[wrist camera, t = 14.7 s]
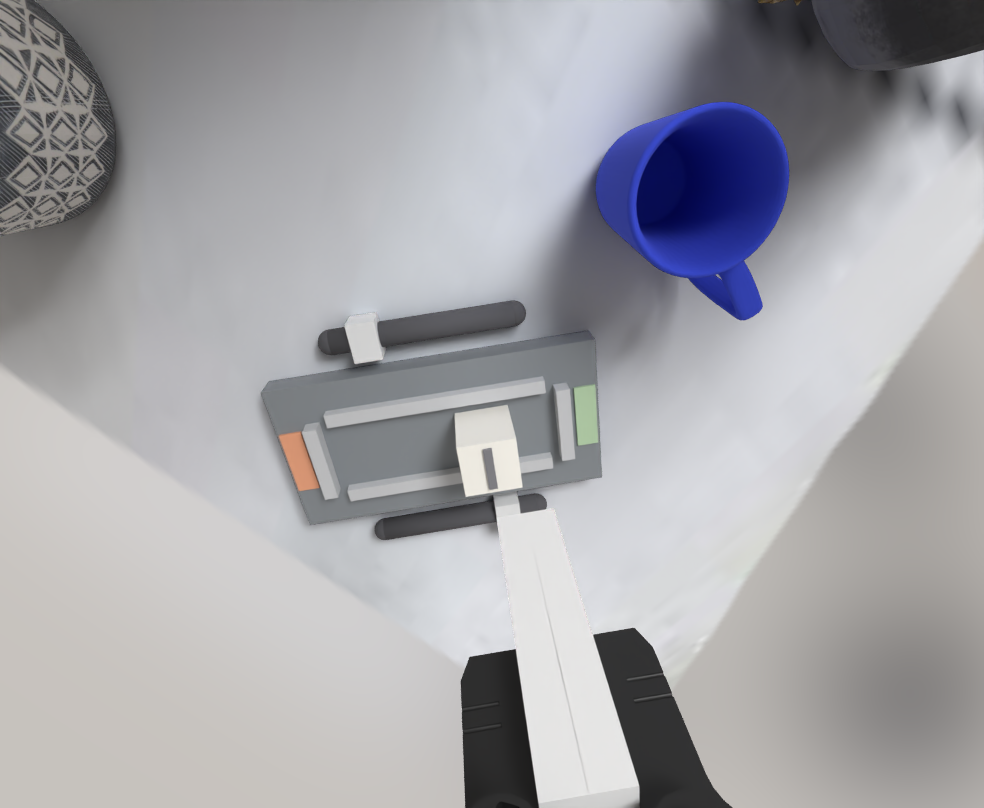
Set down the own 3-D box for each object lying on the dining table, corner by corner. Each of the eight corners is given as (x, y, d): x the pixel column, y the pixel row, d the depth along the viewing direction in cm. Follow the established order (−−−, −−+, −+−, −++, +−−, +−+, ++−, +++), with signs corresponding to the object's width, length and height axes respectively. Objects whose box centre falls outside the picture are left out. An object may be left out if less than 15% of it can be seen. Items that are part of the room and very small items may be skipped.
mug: (639, 312, 39) (697, 362, 30) (558, 163, 34) (599, 171, 25) (740, 248, 38) (833, 281, 29) (671, 83, 33) (757, 61, 24)
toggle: (454, 413, 39) (456, 449, 35) (507, 404, 39) (516, 439, 35) (463, 458, 41) (465, 498, 36) (513, 449, 41) (523, 489, 37)
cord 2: (372, 511, 45) (369, 527, 43) (543, 483, 45) (548, 498, 43) (380, 536, 46) (377, 553, 44) (546, 508, 47) (550, 525, 45)
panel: (269, 381, 39) (255, 400, 36) (588, 330, 40) (599, 345, 37) (315, 509, 45) (306, 534, 42) (595, 463, 45) (606, 485, 42)
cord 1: (315, 321, 37) (308, 331, 35) (521, 289, 38) (526, 297, 36) (326, 357, 39) (320, 369, 37) (525, 326, 39) (530, 336, 37)
